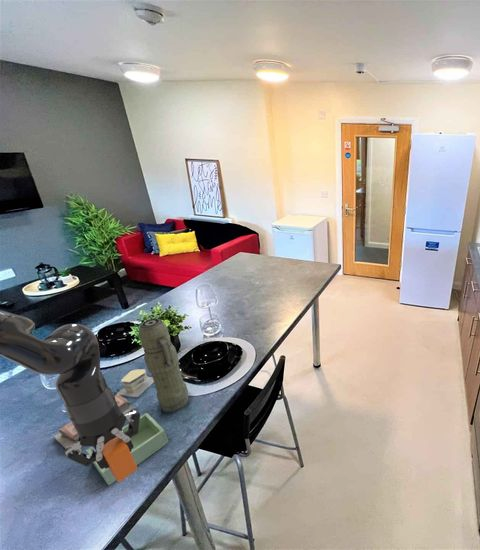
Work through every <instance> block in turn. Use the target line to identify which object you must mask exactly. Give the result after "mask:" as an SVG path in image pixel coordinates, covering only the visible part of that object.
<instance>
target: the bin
mask: <svg viewBox="0 0 480 550" xmlns="http://www.w3.org/2000/svg"><path fill="white" fill-rule="evenodd" d="M128 426H129V423H127V424H126V425H123V428H122V430H123V431H124V432H125V433H126V432H127V431H128ZM131 441H132V444H133V446H134V447H133V449H131V450H132V452H131V454H132V457H133V459H134V461H135V463H136V466H137V467H138V465H140V464H141V463H142V462H144V461H145V460H147V459H148V458H149V457H150V456H152V455H154V454H155V453H156V452H157V451H159V450H160V449H162V448H163V447H165V446H166V445H167V444H168V443H169V439H168V436H167V433H166V431H165V429H164V428H163V427H162V426H161V425H160V424H159V423H158V422H157V421H156V420H155V419H154V418H153V417H152V416H151V415H150V414H149V413H148V412H145V413H143V414H142V415H140V420H139V430H138V433H137V434H136V435H133V436H132V437H131ZM85 452H86V454H87V455H90V454H92V447H91V446H89V448H87V449H86V450H85ZM91 464H93V466H94V467H95V468H96V470H97V471H98V474H100V475H101V477H102V478H103V480H104V481H105V483H106V484H107V486H111V485H112V484H114V483H115V482H117V480H116V478H115V477H114V476H113V474H112V473H111V472H110V470H109V469H108V468H107V469H105V468H103V469H100V467H99V466H98V464H97V462H96V461H95V462H92V463H91Z"/></svg>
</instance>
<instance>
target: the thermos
mask: <svg viewBox="0 0 480 550" xmlns="http://www.w3.org/2000/svg"><path fill="white" fill-rule="evenodd" d="M138 338H139V341H140V343H141V346H142V348H143V352H144V356H143V359H144V360H143V361H144V363H145V366H146V369H147V372H148V373H150V374H151V377H153V380H154V382H153V384H154V386H155V389H156V398H157V401H158V404H159V405H160V408H161V410H162V412H164V413H174V412H177V411H179V410H181V409H183V408H184V407H186V405H187V404H188V403H189V400H190V395H189V391H188V387H187V383H186V382H185V381H184V379H183V375H182V372H181V369H180V365H179V363H180V360H179V355H178V352H177V348H176V347H175V346H174V345H173V343H172V341H171V335H170V332H169V329H168V326H167V324H166V323H165V322H164V321H163V320H162V319H161V318H149V319H146V320H144V321H142V322H141V323H140V324H139V326H138Z"/></svg>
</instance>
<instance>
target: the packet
mask: <svg viewBox="0 0 480 550" xmlns="http://www.w3.org/2000/svg"><path fill="white" fill-rule="evenodd" d="M103 456H104V458H105V459H106V461H107V463H108V465H109V467H108V469H109V470H110V472H111V473H112V474H113V476H114V477H115V478H116V482H118V483H120V482H121V483H122V481H123V480H125V479H126V478H127V477H129V476H130V475H131V474H133V473H135V472H136V471H137V470H138V465H137V466H136V463H135V461H134V459H133V457H132V454H131V452H130V450H129V448H128V446H127V445H126V444H125V442H124V441H123V440H121V439H119V438H118V437H116V438H114V439H112V440H110V441H109V442H107V443H106V444H105V445H104V451H103Z"/></svg>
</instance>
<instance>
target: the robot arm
mask: <svg viewBox="0 0 480 550" xmlns="http://www.w3.org/2000/svg"><path fill="white" fill-rule="evenodd" d="M35 328H36V323H35V321H33V320H32V319H30V318H28V317H26V316H23V315H19V314H16V313H12V312H9V311H5V310H2V309H0V356H1V357H3V358H5V359H7V360H9V361H10V362H12V363H15V364H17V365H19V366H20V367H23V368H24V369H26V370H28V371H31V372H33V373H36V374H40V375H43V376H44V375H46V376H56V375H58V376H57V378H56V380H55V384H54V385H55V389H56V391H57V393H58V396H59V397H60V399H61V401H62V403H63V405H64V408H65V412H66V414H67V416H68V418H69V420H70V422H72V423H73V425H74V427H75V429H76V431H77V433H78V434H79V439H78V442H77V443H76V444H75V445H74V446H73V447H68V448H66V449H65V448H64V450H63V453H65V454H64V455H66V457H67V458H68V460H70V461H73V462H76V463H78V464H80V465H82V466H84V467H88V466H90V465H91V464H93V463H92V462H95V461H96V462H97V464H98V466H99V467H100V469H103V468H105V469H107V468H108V467H109V465H108V463H107V461H106V459H105V458H104V456H103V451H104V445H105V444H106V443H107V442H109V441H110V440H112V439H114V438H116V437H118V438H119V439H121V440H123V441H124V442H125V444H126V445H127V446H128V448H129V450H130V452H132V450H131V449H133V447H134V446H133V444H132V441H131V437H132V436H133V435H136V434H137V433H138V430H139V420H140V417H141V413H140V412H139V411H138V410H137V409H136V408H134V409H132V410H131V411H130V412H129V413H127V414H123V413H121V411H120V409H119V407H118V405H117V402H116V400H115V394H114V393H113V391H112V390H111V388H110V386H109V385H108V384H107V381H106V379H105V377H104V374H103V372H102V370H101V354H100V346H99V345H100V344H99V341H98V338H97V336H96V334H95V333H94V331H93V330H91V329H90V328H89V327H87V326H85V325H83V324H81V323H66V324H64V325H61V326H60V327H58V328H56V329H55V330H53V331H52V332H51V333H50V334H49V335H48V336H46V337H45V338H44V339H41V338H38V337H36V335H35V336H34V335H33V333H34V331H35ZM126 421H128V424H129V426H128V431H127V432H126V433H125V432H124V431H123V430H122V428H123V427H124V426H125V423H126ZM83 447H92V454H90V455H88V453H84V452H83V449H82V448H83Z"/></svg>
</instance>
